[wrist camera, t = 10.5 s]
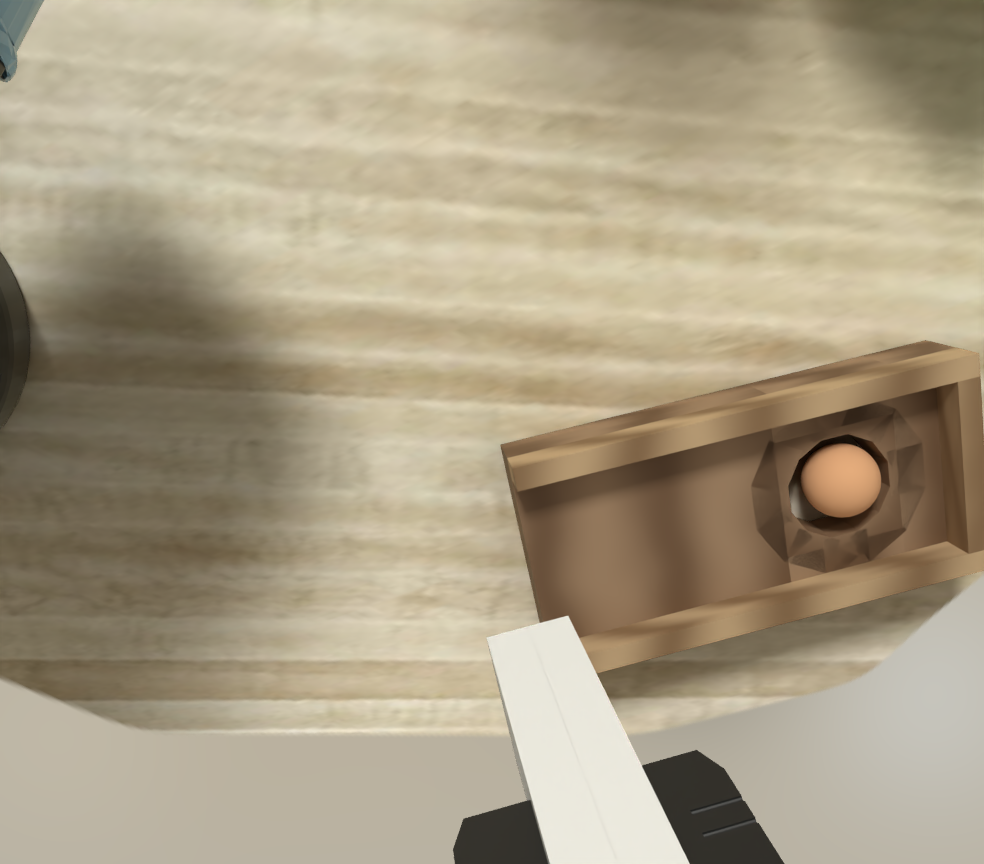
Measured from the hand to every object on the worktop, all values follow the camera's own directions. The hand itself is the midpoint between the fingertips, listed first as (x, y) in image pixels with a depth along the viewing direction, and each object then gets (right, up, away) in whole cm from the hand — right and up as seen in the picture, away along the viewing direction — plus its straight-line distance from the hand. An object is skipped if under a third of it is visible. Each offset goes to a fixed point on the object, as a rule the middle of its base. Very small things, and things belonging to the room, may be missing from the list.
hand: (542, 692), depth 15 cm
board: (+12, +1, +32) cm, 34 cm away
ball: (+18, +2, +30) cm, 35 cm away
